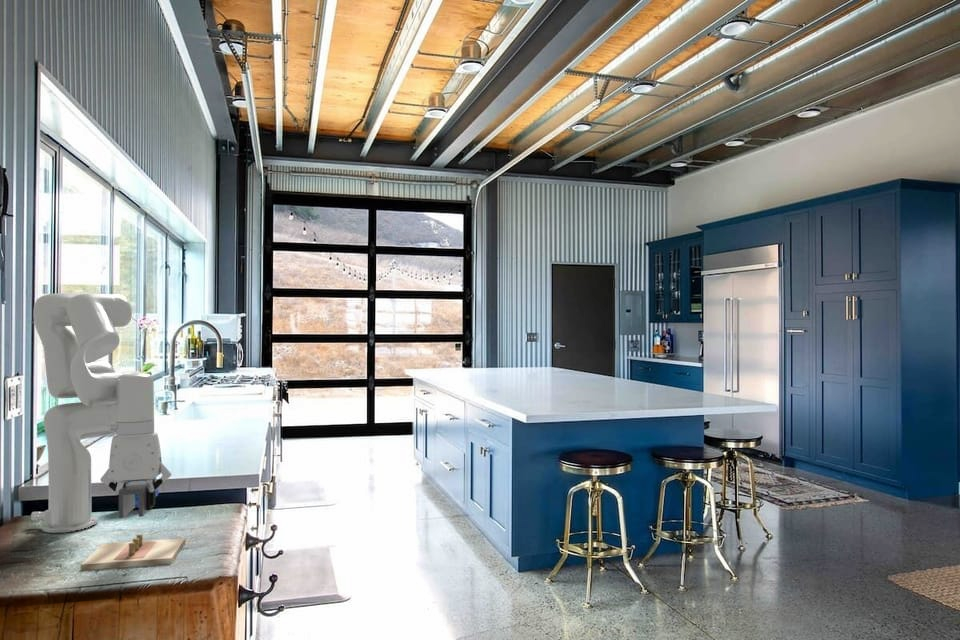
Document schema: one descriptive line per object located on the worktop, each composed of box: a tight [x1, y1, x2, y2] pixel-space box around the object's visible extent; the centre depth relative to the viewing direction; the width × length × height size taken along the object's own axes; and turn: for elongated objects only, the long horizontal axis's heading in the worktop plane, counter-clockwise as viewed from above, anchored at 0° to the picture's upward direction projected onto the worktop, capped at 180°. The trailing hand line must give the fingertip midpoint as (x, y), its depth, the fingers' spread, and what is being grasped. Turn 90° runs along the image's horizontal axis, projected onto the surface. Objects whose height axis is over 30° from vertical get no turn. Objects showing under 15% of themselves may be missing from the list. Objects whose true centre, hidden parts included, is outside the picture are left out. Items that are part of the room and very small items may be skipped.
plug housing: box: [118, 481, 149, 519], centre depth 154 cm, size 5×9×6 cm, turn 12°
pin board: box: [80, 533, 186, 571], centre depth 154 cm, size 18×14×4 cm
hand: (136, 509), depth 154 cm, fingers closed on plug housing, 4 cm apart
